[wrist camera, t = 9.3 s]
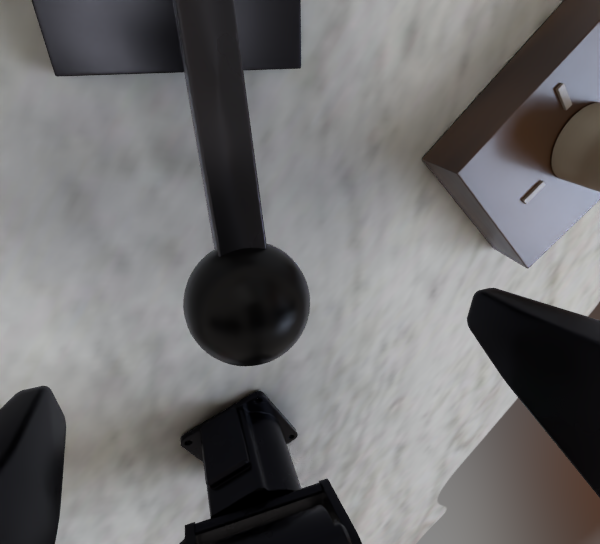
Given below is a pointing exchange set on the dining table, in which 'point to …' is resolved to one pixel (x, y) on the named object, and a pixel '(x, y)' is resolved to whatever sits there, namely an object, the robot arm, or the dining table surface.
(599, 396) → the robot arm
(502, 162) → the dial panel
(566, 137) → the knob
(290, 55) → the lever bracket
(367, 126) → the dining table surface
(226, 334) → the black ball lever
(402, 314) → the dining table surface
